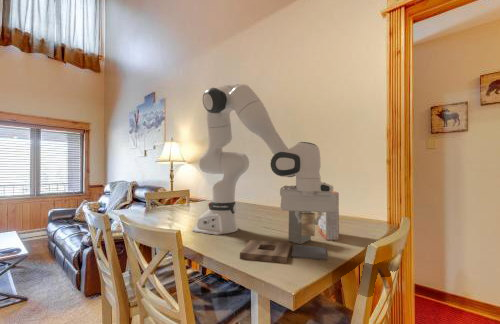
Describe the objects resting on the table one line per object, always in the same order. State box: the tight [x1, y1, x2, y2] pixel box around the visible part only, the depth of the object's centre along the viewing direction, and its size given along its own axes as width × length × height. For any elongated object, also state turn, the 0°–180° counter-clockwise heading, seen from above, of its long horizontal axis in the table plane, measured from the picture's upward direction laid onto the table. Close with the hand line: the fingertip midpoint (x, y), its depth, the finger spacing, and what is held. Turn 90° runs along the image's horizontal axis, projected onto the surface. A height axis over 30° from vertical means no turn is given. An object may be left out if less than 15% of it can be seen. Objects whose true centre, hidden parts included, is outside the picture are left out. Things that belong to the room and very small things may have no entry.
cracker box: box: [317, 190, 340, 241], centre depth 114 cm, size 14×6×21 cm, turn 178°
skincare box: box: [287, 211, 312, 245], centre depth 106 cm, size 8×7×16 cm
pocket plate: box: [239, 239, 292, 264], centre depth 91 cm, size 16×16×2 cm
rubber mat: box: [291, 244, 328, 261], centre depth 91 cm, size 12×12×1 cm
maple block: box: [302, 212, 316, 237], centre depth 91 cm, size 4×4×8 cm
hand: (308, 223), depth 91 cm, fingers closed on maple block, 4 cm apart
